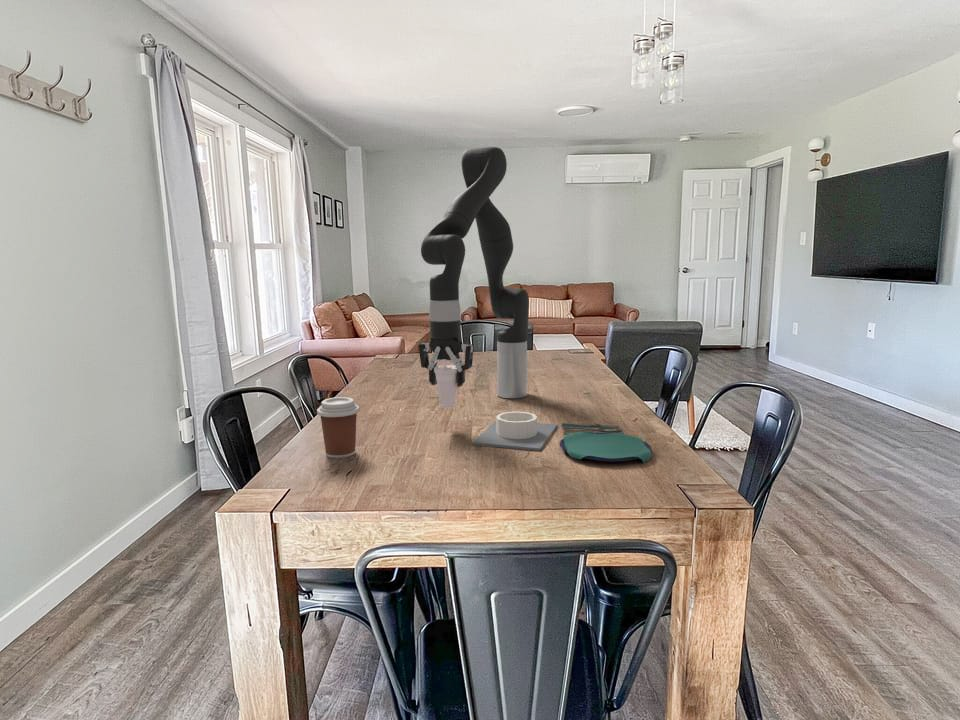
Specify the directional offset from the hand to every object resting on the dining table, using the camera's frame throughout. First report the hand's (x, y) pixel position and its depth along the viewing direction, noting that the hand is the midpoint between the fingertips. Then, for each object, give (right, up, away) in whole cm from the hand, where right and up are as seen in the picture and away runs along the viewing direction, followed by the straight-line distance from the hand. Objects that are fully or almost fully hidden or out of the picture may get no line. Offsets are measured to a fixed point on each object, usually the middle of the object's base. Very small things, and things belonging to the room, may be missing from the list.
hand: (447, 385), depth 145 cm
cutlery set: (+36, -14, -11) cm, 40 cm away
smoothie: (0, -5, +1) cm, 5 cm away
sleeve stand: (+17, -12, -4) cm, 21 cm away
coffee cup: (-23, -15, -16) cm, 31 cm away
